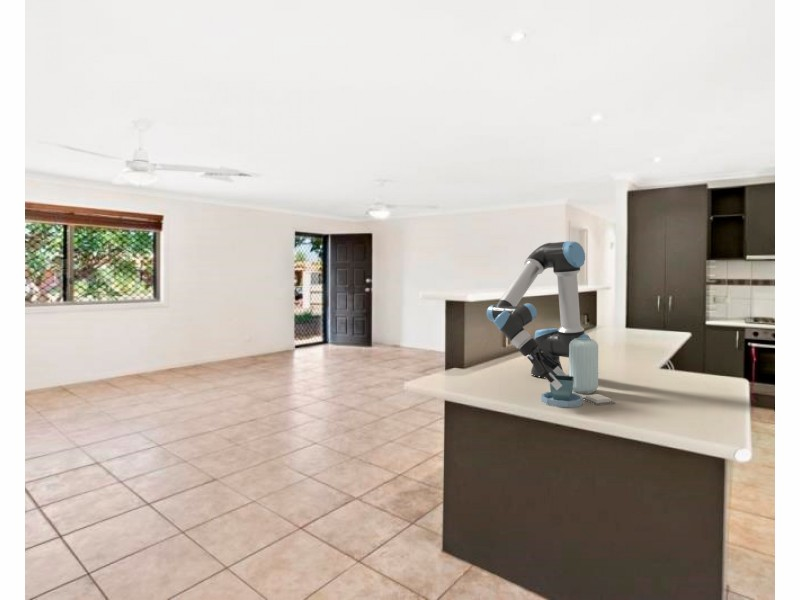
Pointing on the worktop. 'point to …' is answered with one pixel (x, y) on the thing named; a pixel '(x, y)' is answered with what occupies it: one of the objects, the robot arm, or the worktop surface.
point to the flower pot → (563, 388)
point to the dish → (573, 402)
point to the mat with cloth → (598, 399)
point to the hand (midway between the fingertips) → (563, 384)
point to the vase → (584, 364)
